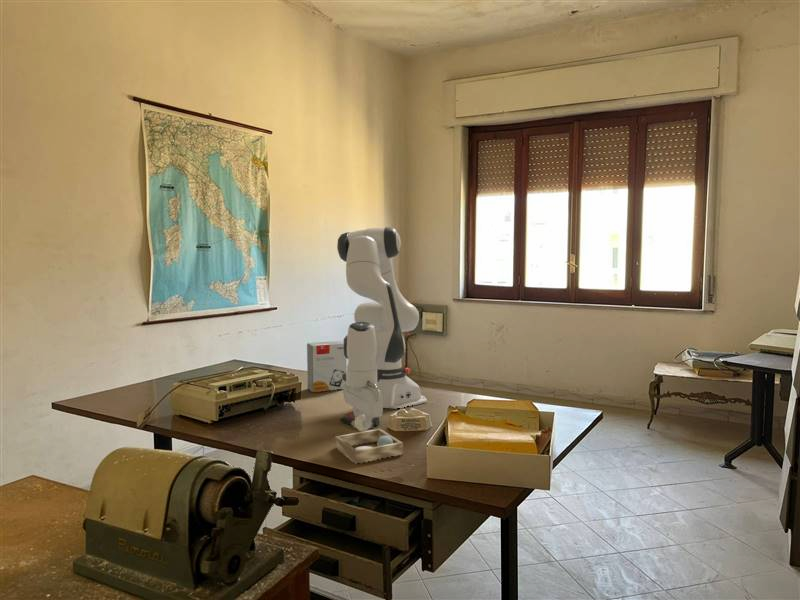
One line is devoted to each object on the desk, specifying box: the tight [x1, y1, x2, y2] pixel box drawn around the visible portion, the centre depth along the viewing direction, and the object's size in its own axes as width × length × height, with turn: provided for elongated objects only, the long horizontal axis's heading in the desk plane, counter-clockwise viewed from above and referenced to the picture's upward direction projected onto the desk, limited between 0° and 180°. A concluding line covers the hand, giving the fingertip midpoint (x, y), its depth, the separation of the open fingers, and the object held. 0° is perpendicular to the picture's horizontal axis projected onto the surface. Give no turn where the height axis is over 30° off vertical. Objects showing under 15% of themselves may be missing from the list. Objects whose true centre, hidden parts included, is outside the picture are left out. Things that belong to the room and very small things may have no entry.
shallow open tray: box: [334, 428, 404, 465], centre depth 166 cm, size 15×15×4 cm
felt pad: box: [355, 445, 373, 450], centre depth 167 cm, size 6×6×1 cm
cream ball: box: [355, 414, 369, 432], centre depth 166 cm, size 5×5×5 cm
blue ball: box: [376, 436, 393, 447], centre depth 165 cm, size 5×5×5 cm
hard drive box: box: [306, 340, 348, 393], centre depth 240 cm, size 16×8×20 cm, turn 115°
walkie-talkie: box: [339, 411, 385, 431], centre depth 190 cm, size 9×4×20 cm
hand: (362, 424), depth 166 cm, fingers closed on cream ball, 5 cm apart
